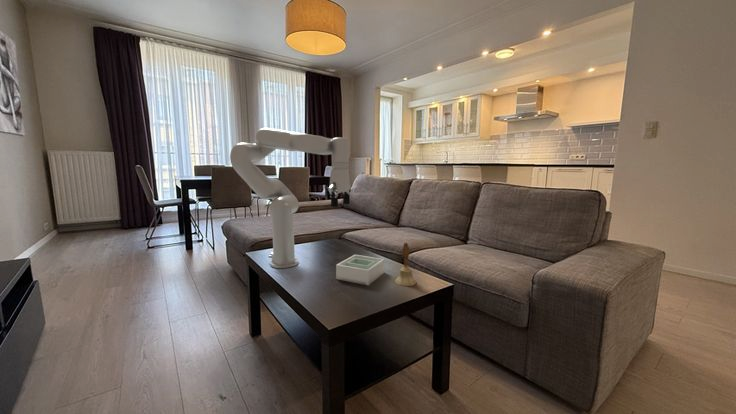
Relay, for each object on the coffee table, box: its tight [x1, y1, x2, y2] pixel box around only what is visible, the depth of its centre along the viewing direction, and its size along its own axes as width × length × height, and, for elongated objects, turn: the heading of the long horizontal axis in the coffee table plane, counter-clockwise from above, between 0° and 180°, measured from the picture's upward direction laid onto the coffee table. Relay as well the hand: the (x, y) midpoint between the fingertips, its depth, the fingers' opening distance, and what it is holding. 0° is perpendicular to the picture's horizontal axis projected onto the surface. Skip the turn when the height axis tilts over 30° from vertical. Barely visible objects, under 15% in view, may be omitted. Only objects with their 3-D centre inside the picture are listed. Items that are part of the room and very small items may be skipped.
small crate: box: [346, 258, 375, 270], centre depth 126 cm, size 10×7×5 cm
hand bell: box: [394, 242, 417, 287], centre depth 119 cm, size 8×8×16 cm
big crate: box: [335, 254, 386, 286], centre depth 126 cm, size 15×16×6 cm
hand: (340, 205), depth 135 cm, fingers open, 9 cm apart
